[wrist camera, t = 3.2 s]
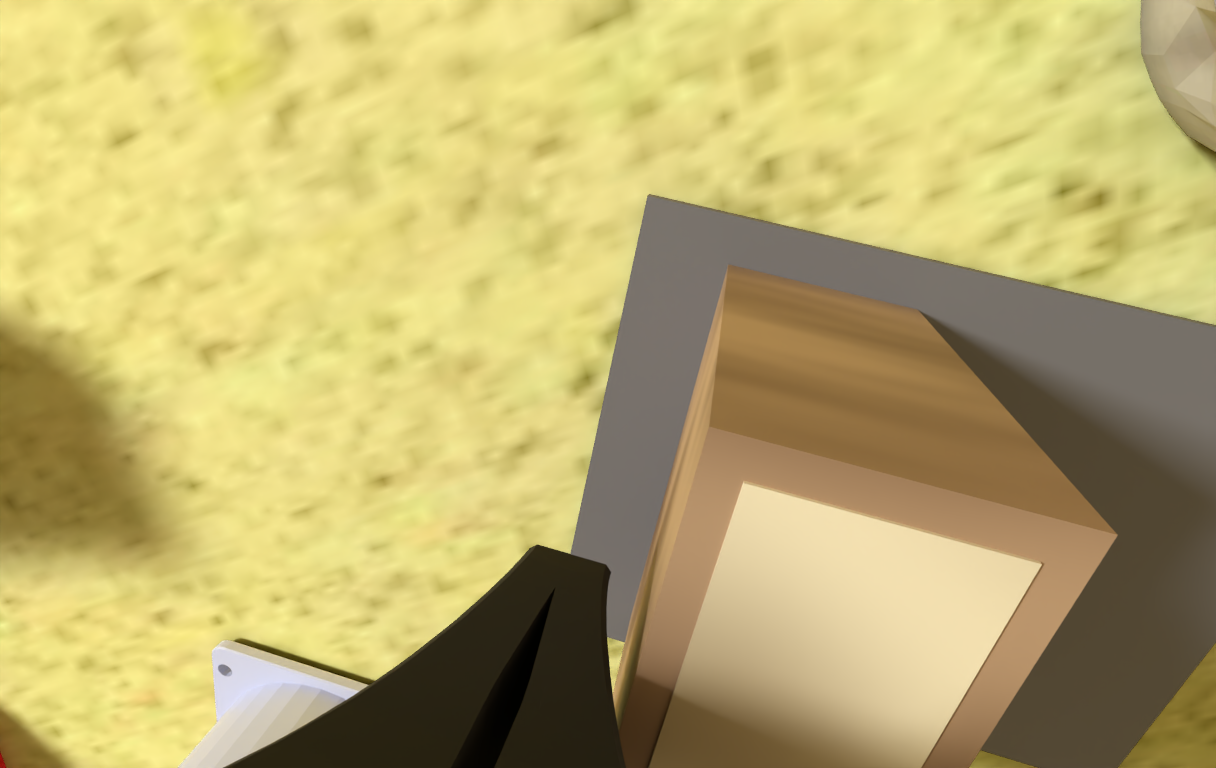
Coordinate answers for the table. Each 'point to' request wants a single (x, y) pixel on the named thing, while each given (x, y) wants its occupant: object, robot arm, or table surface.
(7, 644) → the table surface
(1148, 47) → the cupcake
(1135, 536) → the mat
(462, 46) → the table surface
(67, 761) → the table surface
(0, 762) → the kitchen timer
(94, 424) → the table surface
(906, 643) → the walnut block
